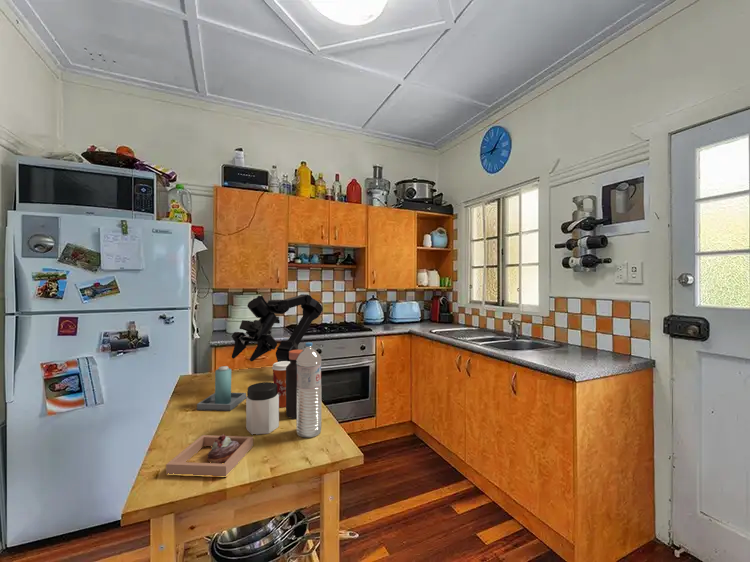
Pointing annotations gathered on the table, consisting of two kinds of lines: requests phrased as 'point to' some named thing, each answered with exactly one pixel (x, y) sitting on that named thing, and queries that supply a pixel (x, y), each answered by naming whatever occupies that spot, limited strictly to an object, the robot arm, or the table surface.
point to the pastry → (222, 449)
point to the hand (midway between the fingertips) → (241, 359)
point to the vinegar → (291, 384)
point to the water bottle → (308, 392)
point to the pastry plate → (215, 469)
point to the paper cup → (280, 380)
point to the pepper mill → (223, 385)
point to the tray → (210, 404)
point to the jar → (262, 408)
